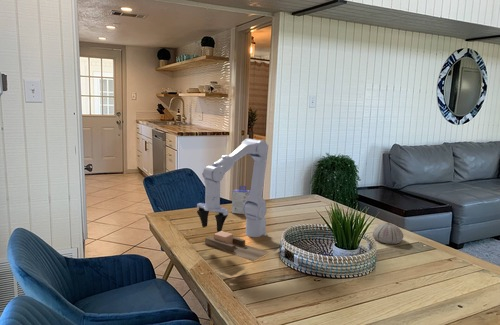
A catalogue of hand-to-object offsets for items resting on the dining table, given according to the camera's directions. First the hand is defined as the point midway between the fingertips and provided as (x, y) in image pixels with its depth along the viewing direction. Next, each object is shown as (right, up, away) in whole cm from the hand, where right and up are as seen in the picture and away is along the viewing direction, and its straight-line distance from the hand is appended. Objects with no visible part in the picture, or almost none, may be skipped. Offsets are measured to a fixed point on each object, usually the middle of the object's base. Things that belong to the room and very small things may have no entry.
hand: (212, 228), depth 155 cm
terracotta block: (+4, -8, +7) cm, 11 cm away
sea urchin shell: (+78, -9, +21) cm, 81 cm away
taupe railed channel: (+9, -9, +4) cm, 13 cm away
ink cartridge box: (+11, -1, +54) cm, 55 cm away
